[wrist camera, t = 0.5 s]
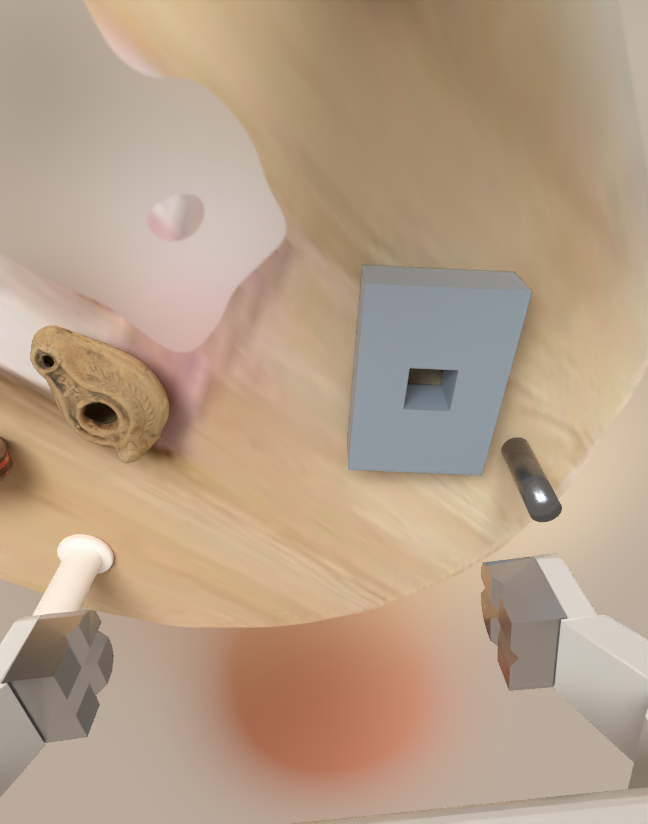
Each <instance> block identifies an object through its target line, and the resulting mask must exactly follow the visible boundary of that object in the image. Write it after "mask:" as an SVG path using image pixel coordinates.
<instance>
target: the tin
mask: <svg viewBox="0 0 648 824" xmlns="http://www.w3.org/2000/svg"><path fill="white" fill-rule="evenodd" d="M12 466H13V460H12V458H11V456H10V453H9V450H8V447H7V445H6V443H5V442H4V440H2V439H1V438H0V480H1V479H3V478H4V477H5V476H6V475H7V474H8V473H9V472H10V470H11V468H12Z"/></svg>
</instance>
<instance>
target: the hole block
mask: <svg viewBox="0 0 648 824" xmlns="http://www.w3.org/2000/svg"><path fill="white" fill-rule="evenodd" d="M531 294H532V291H531V290H530V289H529V287H528V286H527V285H526V284H525V283H524V282H523V281H522V280H521V279H520V278H519V276H518V275H517V274H516V273H515V272H500V271H479V270H459V269H438V268H418V267H397V266H376V265H362V275H361V286H360V298H359V309H358V321H357V332H356V344H355V355H354V367H353V379H352V390H351V402H350V413H349V425H348V436H347V451H348V470H365V471H389V472H413V473H437V474H460V475H482V473H483V470H484V466H485V462H486V459H487V455H488V451H489V448H490V444H491V440H492V437H493V433H494V429H495V426H496V422H497V418H498V415H499V411H500V407H501V404H502V400H503V396H504V393H505V389H506V386H507V382H508V378H509V375H510V371H511V367H512V364H513V360H514V356H515V353H516V349H517V345H518V342H519V338H520V334H521V331H522V327H523V323H524V320H525V316H526V312H527V309H528V305H529V301H530V298H531ZM410 368H418V369H440V370H444V371H443V376H442V381H441V385H423V384H407V382H408V376H409V369H410Z"/></svg>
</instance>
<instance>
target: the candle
mask: <svg viewBox="0 0 648 824" xmlns="http://www.w3.org/2000/svg"><path fill="white" fill-rule="evenodd" d="M57 554H58V557H59V559H60V560H61V564H60V566H59V568H58V569H57V571H56V573H55V575H54V577H53V579H52V580H51V582H50V584H49V586H48V588H47V590H46V591H45V593H44V595H43V597H42V599H41V601H40V602H39V604H38V606H37V608H36V610H35V612H34V613H33V616H36V615H44V614H52V613H63V612H74V611H80V608H81V606H82V604H83V602H84V600H85V598H86V596H87V593H88V591H89V589H90V587H91V585H92V583H93V580H94V578H95V576H96V574H100V573H103V572H105V571H107V570H108V569H109V568H110V567H111V565H112V563H113V560H114V555H113V552H112V550H111V548H110V547H109V546H108V545H107V544H106V543H105V542H103V541H102V540H100V539H98V538H96V537H93V536H90V535H84V534H76V535H71V536H68V537H66V538H64V539H63V540H62V541H61V542H60V544H59V546H58V549H57Z"/></svg>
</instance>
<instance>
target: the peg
mask: <svg viewBox="0 0 648 824" xmlns="http://www.w3.org/2000/svg"><path fill="white" fill-rule="evenodd" d="M502 454H503V456H504V458H505V461H506V463H507V465H508V467H509V469H510V472H511V474H512V476H513V478H514V481H515V483H516V485H517V487H518V489H519V492H520V494H521V496H522V498H523V501H524V503H525V505H526V507H527V510H528V512H529V514H530V516H531V518H532V519H533V520H535V521H538V522H548V521H551V520H553V519H555V518H556V517H557V516H558V515H559V514H560V513H561V510H562V506H561V504H560V502H559V500H558V498H557V497H556V495H555V493H554V491H553V489H552V487H551V485H550V483H549V481H548V480H547V478H546V476H545V474H544V472H543V470H542V468H541V466H540V464H539V463H538V461H537V459H536V457H535V455H534V453H533V451H532V449H531V448H530V446H529V444H528V442H527V441H526V440H525V439H523V438H512V439H510V440H508V441H507V442H505V443H504V445H503V447H502Z"/></svg>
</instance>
